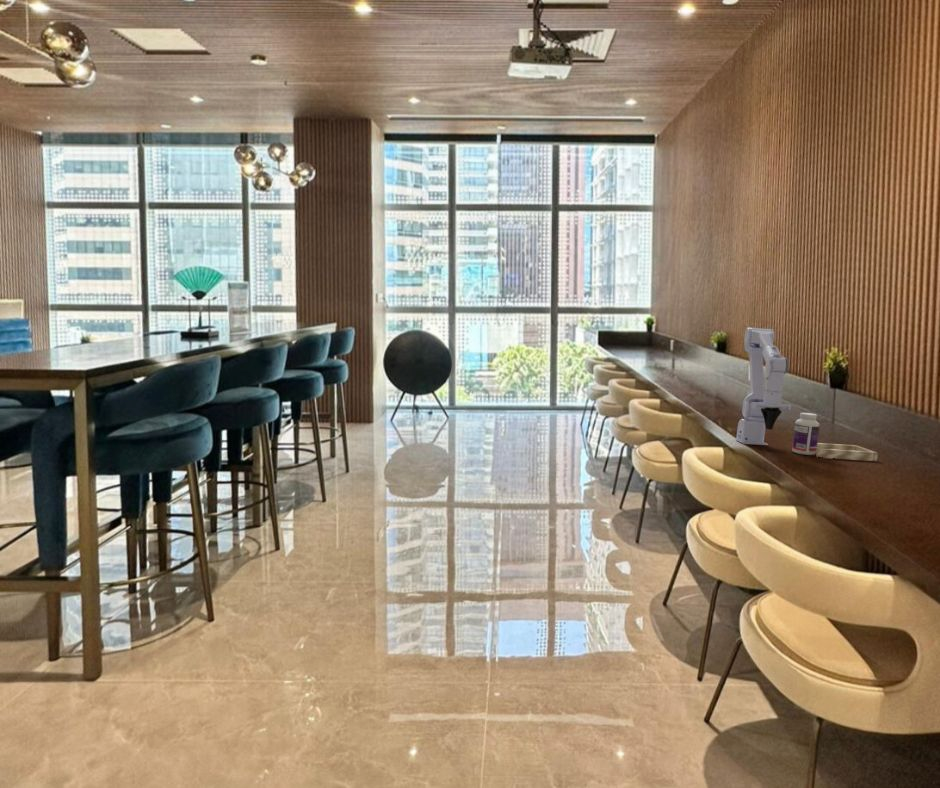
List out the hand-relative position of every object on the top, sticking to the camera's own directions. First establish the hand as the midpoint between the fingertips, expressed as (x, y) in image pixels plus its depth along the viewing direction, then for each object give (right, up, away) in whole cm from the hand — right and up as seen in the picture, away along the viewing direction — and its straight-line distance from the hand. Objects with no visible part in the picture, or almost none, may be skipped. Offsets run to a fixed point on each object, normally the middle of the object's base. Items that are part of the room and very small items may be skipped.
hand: (768, 429), depth 279 cm
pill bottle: (+13, -9, +2) cm, 16 cm away
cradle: (+25, -10, +3) cm, 27 cm away
